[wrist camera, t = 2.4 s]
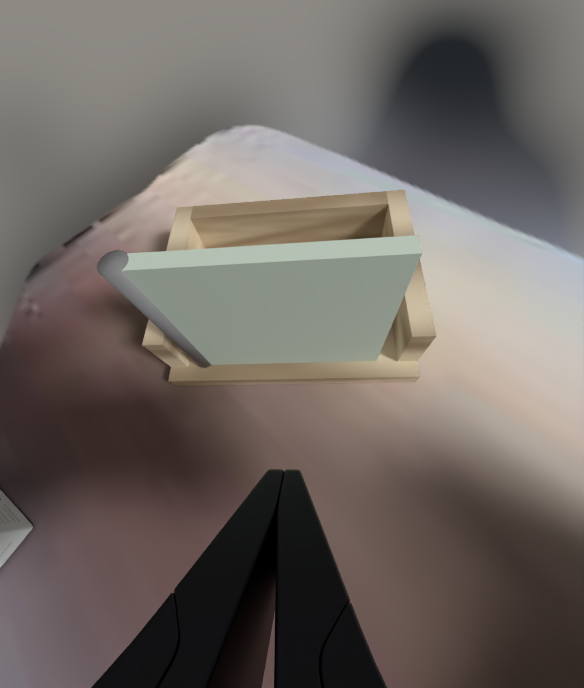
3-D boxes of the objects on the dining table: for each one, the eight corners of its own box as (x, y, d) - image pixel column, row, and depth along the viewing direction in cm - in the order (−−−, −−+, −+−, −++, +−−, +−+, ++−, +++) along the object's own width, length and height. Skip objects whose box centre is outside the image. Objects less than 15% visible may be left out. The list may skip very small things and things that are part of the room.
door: (377, 363, 18) (423, 257, 10) (195, 368, 19) (92, 276, 11) (374, 346, 19) (417, 230, 10) (198, 351, 20) (102, 251, 11)
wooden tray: (415, 381, 19) (440, 353, 15) (175, 385, 20) (137, 361, 16) (390, 239, 24) (404, 189, 20) (200, 251, 25) (176, 207, 21)
